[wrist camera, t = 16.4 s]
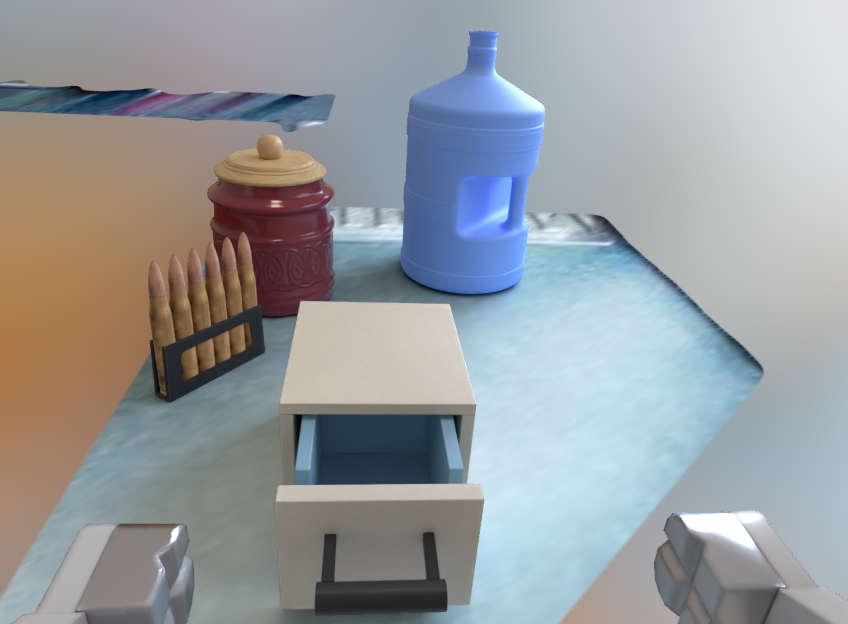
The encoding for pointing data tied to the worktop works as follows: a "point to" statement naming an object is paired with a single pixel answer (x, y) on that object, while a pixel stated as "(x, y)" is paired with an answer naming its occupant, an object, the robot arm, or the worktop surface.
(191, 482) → the worktop surface
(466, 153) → the water jug
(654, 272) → the worktop surface
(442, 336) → the small drawer cabinet
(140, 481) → the worktop surface
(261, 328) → the ammunition clip
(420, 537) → the cabinet drawer
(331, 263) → the kitchen canister
